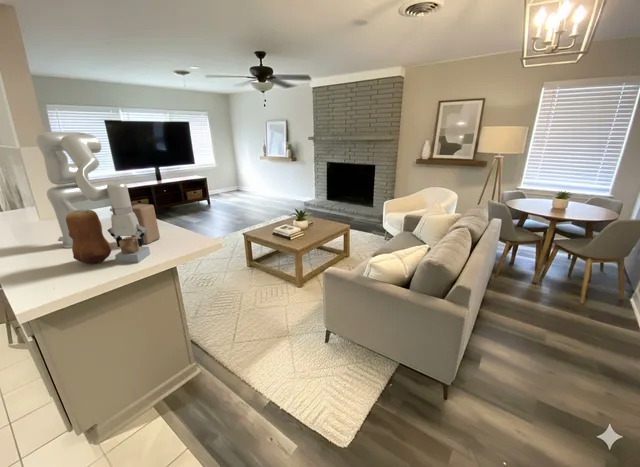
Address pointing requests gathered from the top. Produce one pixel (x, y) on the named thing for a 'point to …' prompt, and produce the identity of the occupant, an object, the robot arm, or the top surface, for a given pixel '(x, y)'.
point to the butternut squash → (87, 236)
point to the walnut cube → (129, 245)
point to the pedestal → (133, 256)
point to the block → (147, 221)
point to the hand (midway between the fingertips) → (131, 245)
